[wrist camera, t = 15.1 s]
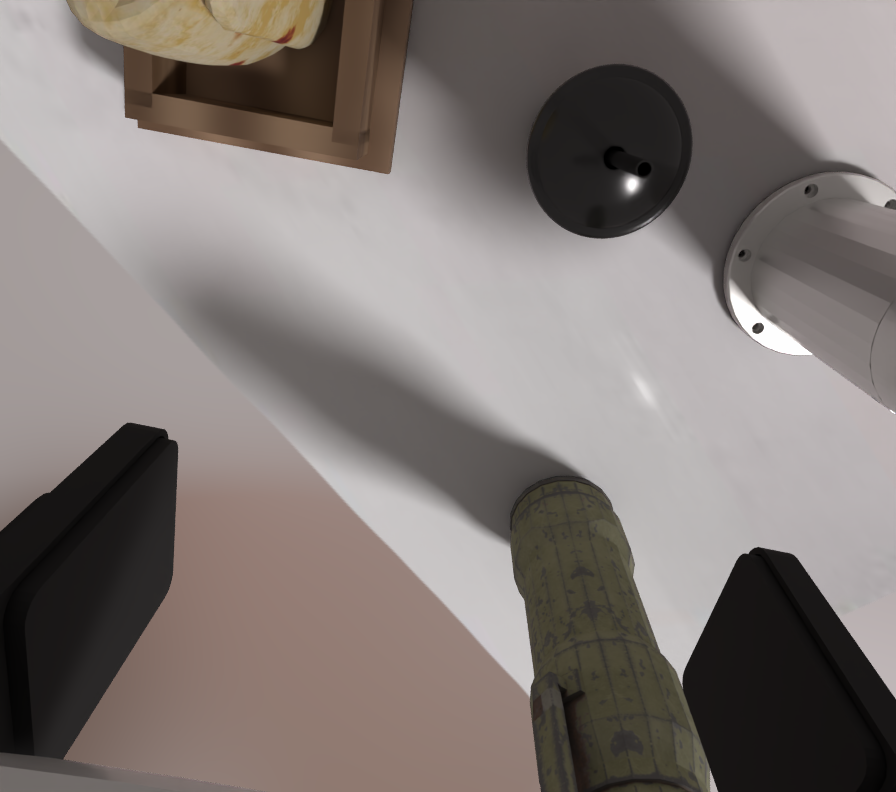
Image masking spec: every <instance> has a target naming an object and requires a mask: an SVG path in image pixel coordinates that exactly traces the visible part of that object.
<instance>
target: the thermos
mask: <svg viewBox="0 0 896 792" xmlns="http://www.w3.org/2000/svg"><path fill="white" fill-rule="evenodd" d="M510 529H511V554H512V563H513V572H514V579H515V582H516V585H517V587H518V590H519V593H520V594H521V596H522V597H523V598H524V600H525V608H526V616H527V623H528V631H529V639H530V646H531V654H532V661H533V669H534V677H535V678H534V680H533V683H532V685H531V695H530V708H531V715H532V725H533V734H534V742H535V750H536V759H537V767H538V776H539V783H540V787H541V792H710V767H709V764H708V761H707V758H706V755H705V753H704V750H703V747H702V744H701V741H700V738H699V735H698V732H697V730H696V727H695V724H694V721H693V718H692V715H691V712H690V710H689V707H688V704H687V701H686V698H685V695H684V692H683V689H682V686H681V683H680V681H679V678H678V675H677V673H676V671H675V669H674V668H673V667H672V666H671V664H670V663H669V662H668V660H667V659H666V658H665V657H664V656H663V655H662V654H661V653H660V650H659V648H658V645H657V642H656V639H655V637H654V634H653V631H652V628H651V626H650V623H649V620H648V617H647V615H646V612H645V609H644V606H643V604H642V601H641V598H640V595H639V593H638V590H637V587H636V584H635V582H634V579H633V573H634V566H635V563H634V559H633V556H632V552H631V548H630V546H629V543H628V541H627V538H626V535H625V533H624V530H623V528H622V525H621V522H620V520H619V518H618V516H617V515H616V514H615V512H614V511H613V508H612V504H611V502H610V500H609V498H608V497H607V496H606V494H605V493H604V492H603V490H602V489H600V488H599V487H597V486H596V485H594V484H593V483H591V482H590V481H588V480H584V479H581V478H577V477H574V476H556V477H552V478H549V479H545V480H541V481H539V482H538V483H536V484H534V485H532V486H531V487H529V488H527V489H526V490H525V491H524V492H523V494H522V495H521V496H520V497H519V498H518V499H517V500H516V502H515V505H514V507H513V509H512V512H511V520H510Z"/></svg>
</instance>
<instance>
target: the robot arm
mask: <svg viewBox="0 0 896 792" xmlns="http://www.w3.org/2000/svg"><path fill="white" fill-rule="evenodd" d="M807 186H808V190H807V192H805V193H804V191H805V188H806V187H807ZM885 204H886V206H885ZM884 206H885V207H884ZM741 250H743V254H742V255H741V256H738V254H739V253H740V251H741ZM723 289H724V294H725V299H726V304H727V306H728V309H729V311H730V313H731V315H732V318H733V319H734V320H735V322H736V323H737V324H738V326H739V327H740V328H741V330H742V331H744V332H745V333H746V334H747V335H748V336H749V337H750V338H751V339H753V340H754V341H756V342H757V343H759V344H760V345H762V346H763V347H766V348H768V349H771V350H773V351H776V352H778V353H784V354H790V355H814V356H815V357H817V358H818V359H819V360H821V361H822V362H824V363H825V364H826V365H828V366H829V367H830V368H832V369H833V370H835V371H836V372H837V373H839V374H840V375H842V376H843V377H844V378H846V379H847V380H848V381H850V382H851V383H853V384H854V385H855V386H857V387H858V388H859V389H861V390H862V391H864V392H865V393H866V394H868V395H869V396H870V397H872V398H873V399H875V400H876V401H877V402H879V403H880V404H882V405H883V406H884V407H886V408H887V409H889V410H890V411H891V412H893V413H894V414H896V192H895V191H894V190H893V189H892V188H891V187H889V186H888V185H886V184H884V183H883V182H881V181H879V180H878V179H875V178H872V177H868V176H865V175H862V174H857V173H851V172H824V173H819V174H814V175H809V176H806V177H803V178H801V179H798V180H796V181H793V182H791V183H789V184H787V185H785V186H784V187H782V188H780V189H779V190H777V191H775V192H774V193H772V194H771V195H770V196H769V197H767V198H766V199H765V200H764V201H763V202H761V203H760V204H759V205H758V206H757V207H756V208H755V209H754V210H753V211H752V213H751V214H750V215H749V216H748V217H747V218H746V220H745V221H744V222H743V224H742V225H741V227H740V229H739V230H738V232H737V234H736V235H735V237H734V239H733V241H732V244H731V246H730V249H729V251H728V254H727V258H726V263H725V268H724V281H723ZM755 323H756V325H755V326H754V327H752V326H753V325H754V324H755ZM177 464H178V445H177V442H176V441H174V440H169V439H168V434H167V432H166V430H165V429H160V428H155V427H150V426H145V425H140V424H135V423H126V424H125V425H123V426H122V427H121V428H120V429H119V430H118V431H117V432H116V433H115V434H113V435H112V436H111V437H110V438H109V439H108V440H107V441H106V442H105V443H104V444H103V445H101V446H100V447H99V448H98V449H97V450H96V451H95V452H94V453H93V454H92V455H91V456H89V457H88V458H87V459H86V460H85V461H84V462H83V463H82V464H81V465H80V466H79V467H77V468H76V469H75V470H74V471H73V472H72V473H71V474H70V475H69V476H68V477H67V478H65V479H64V480H63V481H62V482H61V483H60V484H59V485H58V486H57V487H56V488H55V489H54V490H52V491H51V492H50V493H45V494H43V495H42V496H40V497H39V498H37V499H36V500H35V501H34V502H32V503H31V504H30V505H29V506H28V507H27V508H26V509H25V510H24V511H23V512H22V513H20V514H19V515H18V516H17V517H16V518H15V519H14V520H13V521H11V522H10V523H9V524H8V525H7V526H6V527H5V528H4V529H3V530H2V531H0V792H265V791H259V790H253V789H247V788H241V787H235V786H229V785H223V784H217V783H211V782H205V781H199V780H194V779H188V778H182V777H175V776H168V775H161V774H156V773H149V772H142V771H136V770H129V769H122V768H115V767H108V766H102V765H95V764H89V763H82V762H76V761H69V760H63V758H64V757H65V755H66V754H67V752H68V750H69V749H70V747H71V746H72V744H73V743H74V741H75V739H76V738H77V736H78V735H79V733H80V731H81V730H82V728H83V727H84V725H85V723H86V722H87V720H88V719H89V717H90V715H91V714H92V712H93V711H94V709H95V708H96V706H97V704H98V703H99V701H100V700H101V698H102V696H103V695H104V693H105V692H106V690H107V688H108V687H109V685H110V684H111V682H112V681H113V679H114V677H115V676H116V674H117V673H118V671H119V669H120V668H121V666H122V665H123V663H124V661H125V660H126V658H127V657H128V655H129V653H130V652H131V650H132V649H133V647H134V646H135V644H136V642H137V641H138V639H139V638H140V636H141V634H142V633H143V631H144V630H145V628H146V627H147V625H148V623H149V622H150V620H151V619H152V617H153V615H154V614H155V612H156V611H157V609H158V607H159V606H160V604H161V603H162V601H163V599H164V598H165V596H166V594H167V592H168V590H169V587H170V584H171V580H172V576H173V558H174V536H175V512H176V489H177V488H176V487H177ZM682 684H683V692H684V695H685V698H686V701H687V704H688V707H689V710H690V712H691V715H692V718H693V721H694V724H695V727H696V730H697V732H698V735H699V738H700V741H701V744H702V747H703V750H704V753H705V755H706V758H707V761H708V764H709V767H710V770H711V773H712V775H713V778H714V781H715V784H716V787H717V790H718V792H896V699H895V697H894V696H893V695H892V693H891V692H890V690H889V689H888V688H887V686H886V685H885V683H884V682H883V680H882V679H881V678H880V676H879V675H878V673H877V672H876V670H875V669H874V667H873V666H872V665H871V663H870V662H869V660H868V659H867V658H866V656H865V655H864V653H863V652H862V650H861V649H860V647H859V646H858V645H857V643H856V642H855V640H854V639H853V637H852V636H851V635H850V633H849V632H848V630H847V629H846V627H845V626H844V625H843V623H842V622H841V620H840V619H839V617H838V616H837V615H836V613H835V612H834V610H833V609H832V607H831V606H830V605H829V603H828V602H827V600H826V599H825V597H824V596H823V595H822V593H821V592H820V590H819V589H818V587H817V586H816V585H815V583H814V582H813V580H812V579H811V577H810V576H809V575H808V573H807V572H806V570H805V569H804V567H803V566H802V565H801V563H800V562H799V560H798V559H797V558H796V557H795V556H794V555H792V554H790V553H785V552H780V551H775V550H770V549H765V548H760V547H757V548H754V549H752V550H751V551H750V552H749V554H742V555H741V556H740V557H739V558H738V559H737V561H736V563H735V565H734V567H733V569H732V572H731V574H730V576H729V578H728V580H727V582H726V584H725V586H724V588H723V590H722V592H721V595H720V597H719V599H718V601H717V603H716V605H715V607H714V609H713V611H712V613H711V615H710V618H709V620H708V622H707V624H706V626H705V628H704V630H703V632H702V634H701V636H700V638H699V640H698V643H697V645H696V647H695V649H694V651H693V653H692V655H691V657H690V659H689V661H688V663H687V666H686V668H685V670H684V674H683V683H682Z"/></svg>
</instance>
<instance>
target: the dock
mask: <svg viewBox="0 0 896 792" xmlns="http://www.w3.org/2000/svg"><path fill="white" fill-rule="evenodd" d="M413 1H414V0H333V1H332V6H331V11H330V14H329V17H328V20H327V24H326V27H325V29H324V30H323V31H322V33H321V34H320V35H319V37H318V38H317V39H316V41H315V42H314V43H313V44H312V45H310V46H307V47H305V48H301V49H296V48H291V47H288V46H285V47H283V48H282V49H281V50H279V51H278V52H276V53H275V54H273V55H271V56H269V57H266V58H264V59H262V60H259V61H257V62H254V63H251V64H248V65H229V66H220V65H203V64H195V63H189V62H184V61H179V60H174V59H169V58H164V57H160V56H156V55H152V54H149V53H146V52H143V51H140V50H136V49H133V48H130V47H127V46H124V87H125V118H131V119H136V120H138V128H142V129H147V130H153V131H158V132H163V133H169V134H174V135H180V136H185V137H190V138H196V139H201V140H206V141H212V142H217V143H223V144H228V145H233V146H239V147H244V148H250V149H255V150H260V151H266V152H271V153H277V154H282V155H287V156H293V157H298V158H304V159H309V160H314V161H320V162H325V163H330V164H336V165H341V166H347V167H352V168H357V169H363V170H368V171H374V172H379V173H384V174H389V173H390V172H391V166H392V158H393V151H394V143H395V136H396V128H397V121H398V113H399V106H400V98H401V91H402V83H403V76H404V68H405V61H406V53H407V46H408V38H409V31H410V23H411V16H412V8H413Z"/></svg>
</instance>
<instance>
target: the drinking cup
mask: <svg viewBox="0 0 896 792" xmlns="http://www.w3.org/2000/svg"><path fill="white" fill-rule="evenodd" d="M691 156H692V130H691V125H690V120H689V117H688V114H687V111H686V109H685V107H684V104H683V103H682V101H681V99H680V98H679V96H678V95H677V93H676V92H675V91H674V89H673V88H672V87H671V86H670V85H669V84H668V83H667V82H665V81H664V80H663V79H662V78H660V77H659V76H657V75H656V74H654V73H652V72H650V71H648V70H646V69H643V68H640V67H636V66H632V65H625V64H610V65H603V66H598V67H594V68H591V69H588V70H586V71H583V72H581V73H579V74H577V75H575V76H574V77H572V78H570V79H569V80H568V81H566V82H565V83H563V84H562V85H561V86H560V87H559V88H558V89H557V90H556V91H555V92H554V93H553V94H552V95H551V96H550V97H549V98H548V99H547V101H546V102H545V103H544V105H543V106H542V108H541V109H540V111H539V113H538V115H537V117H536V119H535V121H534V123H533V125H532V128H531V132H530V135H529V139H528V145H527V154H526V166H527V174H528V179H529V183H530V186H531V189H532V192H533V194H534V196H535V198H536V200H537V202H538V203H539V205H540V206H541V208H542V209H543V210H544V212H545V213H546V214H547V215H548V216H549V217H550V218H551V219H552V220H553V221H554V222H555V223H557V224H558V225H559V226H561V227H562V228H564V229H566V230H568V231H570V232H572V233H574V234H577V235H580V236H584V237H589V238H601V239H605V238H614V237H619V236H623V235H627V234H630V233H632V232H635V231H637V230H639V229H641V228H643V227H644V226H646V225H648V224H649V223H651V222H652V221H653V220H655V219H656V218H657V217H658V216H659V215H661V214H662V213H663V212H664V211H665V210H666V209H667V207H668V206H669V205H670V204H671V203H672V201H673V200H674V199H675V197H676V196H677V194H678V192H679V191H680V189H681V187H682V185H683V183H684V181H685V178H686V176H687V173H688V170H689V166H690V162H691Z"/></svg>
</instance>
